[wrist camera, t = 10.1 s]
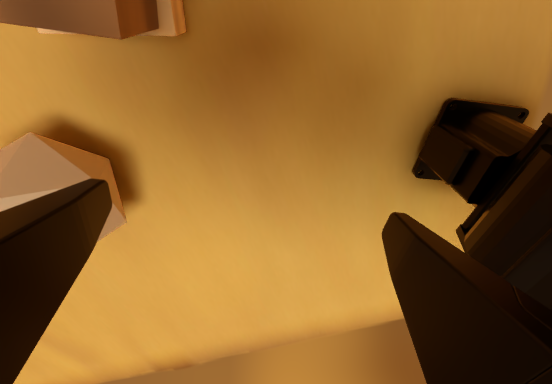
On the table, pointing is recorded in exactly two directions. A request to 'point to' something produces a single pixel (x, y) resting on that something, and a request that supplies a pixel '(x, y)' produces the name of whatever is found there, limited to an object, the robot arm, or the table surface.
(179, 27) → the maple base
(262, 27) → the table surface
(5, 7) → the walnut cube
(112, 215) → the die
